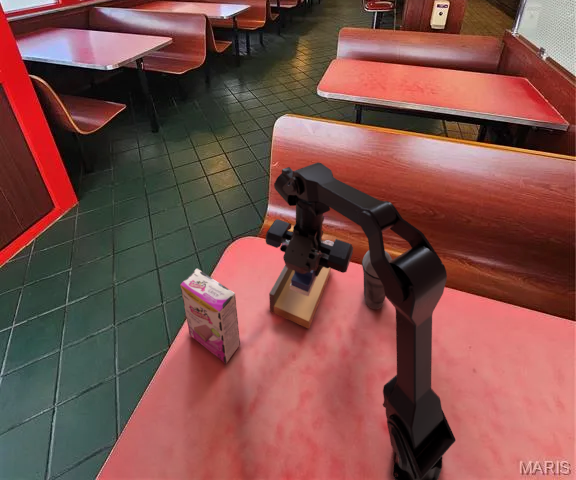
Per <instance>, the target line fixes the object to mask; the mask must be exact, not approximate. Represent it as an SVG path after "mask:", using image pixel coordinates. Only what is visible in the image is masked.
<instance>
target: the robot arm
mask: <svg viewBox="0 0 576 480" xmlns="http://www.w3.org/2000/svg"><path fill="white" fill-rule="evenodd" d="M274 181H275V182H274V183H273V187H274V190H275V191H276V192H277V193H278V194H279V196H280V197H281V198H282V199H283V200H284V201H285V203H286V204H287V205H288V206H289V207H295V223H294V225H293V230H292V231H289V230H291V229H292V223H291V222H288V221H284V220H281V219H278V218H276V219H275V220H273V222H272V224H271V225H270V226H269V228H268V230H267V231H266V234H265V244H266V245H268V246H271V247H274V248H276V249H279V251H280V252H282V253H284V254H283V256H282V257H283V258H282V259H283V261H284V266H285V265H286V267H287V268H289V269H292V270H295V271H297V272H299V273H301V274H305V273H306V272H309V273H310V272H311V270H314V271H316V276H317V277H318V275H319V273H320V271H321V269H322V268H323V267H325V268H331V270H334V271H336V272H340V273H343V274H344V273H347V271H348V268H349V266H350V262H351V259H352V256H353V254H354V252H353V251H354V246H353V245H352V243H349V242H347V241H343V240H340V239H338V238H335V240H334V241H332V240H329V239H326V240H323V235H324V230H323V223H324V221H325V216H324V214H325V213H328V212H330V211H331V209H332V210H333V211H335V212H336V213H338V214H340V215H342V216H343V217H345V218H346V219H348V220H349V221H351V222H353V223H354V224H355V225H358V226H359V227H360V228H361V230H362V231H363V234H364V235H365V236H366V238H367V243H368V244H367V245H368V251H369V253H370V261H371V265H372V267H373V268H374V270H375V272H376V274H377V275H378V277H379V279H380V281H381V283H382V284H383V286H384V292H385V299H387V300H388V301H389V302H390V304H391V305H392V306H393V307H394V310H395V339H396V341H395V342H396V346H395V347H396V349H395V350H396V351H395V352H396V375H394V376H393V377H392V378H391V379H390V380H388V381H387V382H386V383H385V384H384V385H383V388H382V394H383V403H382V406H383V408H385V417H386V425H387V430H388V437H389V441H390V446H391V448H392V452H391V459H392V461H393V468H392V469H393V470H392V477H393V479H394V480H439V479H440V475H441V472H442V469H443V456H444V455H445V454H446V453H447V451H448V450H449V449H450V448H451V447H452V445H454V443H455V442H456V437H455V436H454V433H453V430H452V428H451V426H450V423H449V421H448V419H447V417H446V415H445V412H444V410H443V407H442V401H441V397H440V396H439V395H438V394H437V392H436V391H435V390H433V388H432V363H433V362H432V359H433V358H432V357H433V355H432V354H433V348H432V347H433V313H434V311H435V309H436V308H437V305H438V304H439V302H440V300H441V299H442V297H443V294H444V291H445V287H446V283H447V278H448V273H447V269H446V266H445V264H444V263H443V261H442V260H441V258H440V256H439V254H438V253H437V252H436V250H435V249H434V247H433V246H432V244H431V242H430V241H429V240H428V239H427V237H426V235H425V234H424V232H423V231H421V230H420V229H418V228H417V227H416V226H414V225H413V224H411V223H410V222H409V221H407V220H406V219H404V218H403V217H402V214H400V212H399V211H398V209H397V207H395V205H394V204H393V203H391V202H390V201H388V200H380V199H378V198H376V197H374V196H372V195H370V194H368V193H366V192H364V191H362V190H359V189H358V188H356V187H353V186H351V185H349V184H347V183H345V182H343V181H341V180H339V179H337V178H335V177H334V174H333V170H332V169H331V168H329V167H327V166H326V165H325V164H324V163H322V162H318V161H317V162H315V163H312V164H309V165H307V166H304V167H301V168H298V169H296V170H295V169H294V170H293V169H292V168H291V167H290V166H288V167H285V168H281V173H280V174H279V175H278V176H277V177H276V179H275V180H274ZM388 230H391V231H392V232H393V233H395V234H396V235H398V236H399V237H400V238H402V239H403V240H404V241H406V242H407V243H408V244H409V246H410V247H411V248H409V249H407V250H406V251H404V252H403V253H401V254H399V255H398V256H395V258H392V260H391V261H390V262H389V261H388V260H387V258H386V256H385V251H386V249H385V243H384V236H383V233H384V232H386V231H388ZM396 475H397V476H396Z"/></svg>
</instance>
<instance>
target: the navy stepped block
mask: <svg viewBox="0 0 576 480" xmlns="http://www.w3.org/2000/svg"><path fill="white" fill-rule="evenodd" d="M316 278H317V276H316V271H314V270H311V272H310V273H309V272H306V273H305V274H301V273H299V272H297V271H295V273H294V275H293V277H292V279H291V284H290V289H291V290H293V291H296V292H298V293H301V294H303V295H305V296H308V297H309V294H310V292H311V290H312V287H313V285H314V282H315V280H316Z"/></svg>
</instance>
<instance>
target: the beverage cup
mask: <svg viewBox="0 0 576 480" xmlns="http://www.w3.org/2000/svg"><path fill="white" fill-rule="evenodd" d="M385 256H386V258H387V260H388V261H389V262H390V261H391V260H393V258H392V256H391V255H390V253H388V252H387V251H386V250H385ZM361 267H362V272H363V299H364V304H365V305H366V306H367V307H368V308H370V309H373V310H380V309H381V308H382V307H383V305H384V302H385V299H386V296H385V292H384V286H383V284H382V283H381V281H380V279H379V277H378V275H377V274H376V272H375V270H374V268H373V267H372V265H371V261H370V253H369V250H367V251H366V253H365V254H364V255H363V258H362V262H361Z"/></svg>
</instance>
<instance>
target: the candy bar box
mask: <svg viewBox="0 0 576 480" xmlns="http://www.w3.org/2000/svg"><path fill="white" fill-rule="evenodd" d="M179 286H180V291H181V296H182V301H183V307H184V311H185V312H184V313H185V318H186V322H187V327H188V334H189V337H191V338H193V340H195V341H196V342H197V343H199V344H200V345H201V346H203V347H204V348H205V350H207V351H209V352H210V353H211V354H213V355H214V356H215V357H216V358H218V359H219V360H220V361H221V362H223V363H224V364H226V365H227V363H228V362H229V361H230V359H231V358H232V356H233V355H234V354H235V352H236V351H237V350H238V348H239V347H240V345H241V341H240V340H241V339H240V331H239V320H238V319H239V317H238V309H237V300H236V299H237V298H236V293H235V292H234V291H232V290H231V289H229V288H228V287H226V286H225V285H223V284H222V283H221V282H218V281H217V280H216V279H214V278H212V277H211V276H210V275H208V274H207V273H205V272H203V271H202V270H200V269H199V268H195V270H193V272H192V273H191V274H190V275H188V276H187V277H186V279H184V280H183V281H182V282H181V283H180V284H179Z"/></svg>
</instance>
